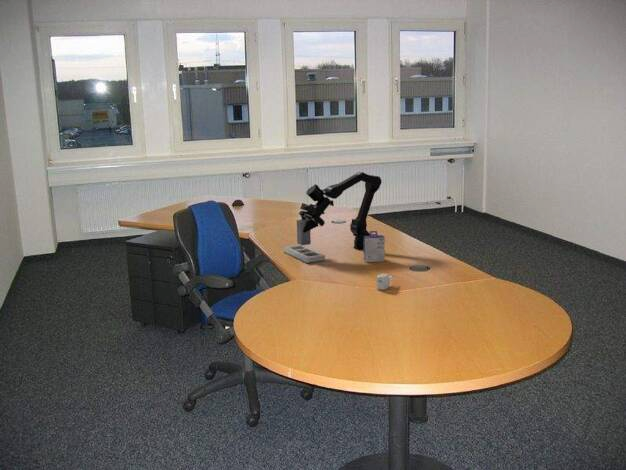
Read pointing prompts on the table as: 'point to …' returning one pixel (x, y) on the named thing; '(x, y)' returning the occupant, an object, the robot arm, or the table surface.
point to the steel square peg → (301, 236)
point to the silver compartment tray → (304, 254)
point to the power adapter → (383, 281)
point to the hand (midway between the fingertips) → (301, 231)
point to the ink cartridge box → (374, 247)
